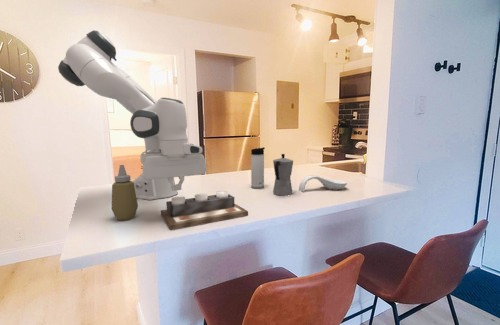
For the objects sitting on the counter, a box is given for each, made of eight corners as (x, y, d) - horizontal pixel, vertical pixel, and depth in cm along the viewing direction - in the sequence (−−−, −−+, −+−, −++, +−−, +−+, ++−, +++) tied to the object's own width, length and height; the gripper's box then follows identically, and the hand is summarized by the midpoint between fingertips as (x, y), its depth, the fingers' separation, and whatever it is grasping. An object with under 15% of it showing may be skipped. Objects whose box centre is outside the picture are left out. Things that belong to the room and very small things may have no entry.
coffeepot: (278, 189, 128) (278, 152, 125) (297, 191, 124) (297, 152, 121) (265, 197, 114) (265, 155, 112) (286, 199, 110) (286, 156, 108)
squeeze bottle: (111, 223, 84) (106, 167, 82) (113, 215, 92) (108, 164, 89) (138, 219, 88) (135, 165, 85) (138, 212, 95) (135, 162, 92)
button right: (219, 202, 94) (218, 194, 94) (214, 199, 98) (214, 191, 98) (230, 200, 96) (230, 192, 96) (225, 198, 100) (225, 190, 100)
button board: (170, 230, 78) (169, 213, 78) (160, 214, 92) (159, 200, 92) (248, 215, 91) (247, 201, 90) (228, 203, 105) (228, 191, 104)
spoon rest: (337, 185, 136) (337, 171, 135) (352, 190, 125) (352, 175, 124) (295, 189, 129) (295, 174, 128) (307, 194, 118) (307, 179, 117)
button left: (173, 209, 87) (172, 200, 86) (170, 206, 90) (170, 197, 90) (186, 207, 89) (186, 198, 88) (183, 204, 92) (182, 195, 92)
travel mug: (263, 189, 128) (263, 148, 125) (250, 188, 129) (249, 147, 127) (265, 186, 134) (265, 146, 131) (252, 185, 135) (252, 146, 133)
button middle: (197, 206, 90) (196, 197, 90) (193, 202, 94) (193, 194, 94) (209, 204, 92) (209, 195, 92) (205, 201, 96) (205, 193, 96)
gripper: (141, 151, 79) (144, 196, 81) (206, 147, 88) (208, 188, 90) (139, 149, 85) (142, 192, 86) (201, 146, 94) (202, 184, 96)
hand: (176, 190), depth 88 cm, fingers closed
